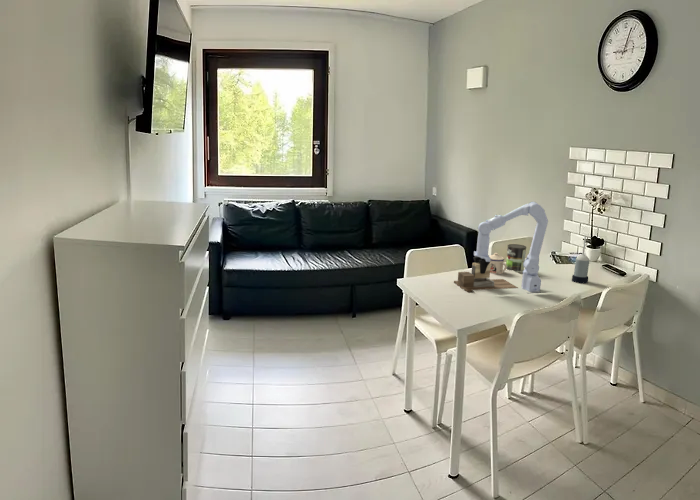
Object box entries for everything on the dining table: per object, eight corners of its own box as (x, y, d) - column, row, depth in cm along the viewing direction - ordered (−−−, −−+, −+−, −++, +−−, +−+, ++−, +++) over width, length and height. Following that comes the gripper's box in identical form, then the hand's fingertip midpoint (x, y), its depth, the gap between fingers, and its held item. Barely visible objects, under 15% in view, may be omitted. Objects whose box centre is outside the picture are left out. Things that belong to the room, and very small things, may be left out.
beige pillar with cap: (489, 277, 275) (490, 264, 273) (474, 278, 273) (475, 264, 272) (485, 275, 279) (487, 262, 277) (470, 276, 277) (471, 262, 275)
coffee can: (513, 273, 305) (516, 248, 302) (501, 268, 314) (503, 244, 311) (527, 271, 309) (530, 247, 306) (515, 267, 318) (517, 243, 315)
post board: (518, 289, 273) (519, 276, 272) (466, 292, 267) (468, 278, 266) (502, 280, 289) (504, 268, 287) (453, 282, 282) (454, 269, 281)
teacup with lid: (482, 272, 304) (484, 252, 301) (493, 270, 309) (495, 250, 306) (499, 277, 294) (501, 256, 292) (510, 275, 300) (512, 255, 297)
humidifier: (579, 278, 297) (585, 233, 292) (591, 282, 290) (597, 237, 284) (568, 279, 294) (573, 234, 289) (579, 284, 287) (585, 237, 281)
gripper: (469, 242, 278) (467, 268, 281) (482, 249, 265) (479, 276, 268) (481, 242, 280) (479, 268, 283) (495, 249, 266) (492, 275, 269)
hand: (480, 272), depth 275 cm, fingers closed on beige pillar with cap, 4 cm apart
